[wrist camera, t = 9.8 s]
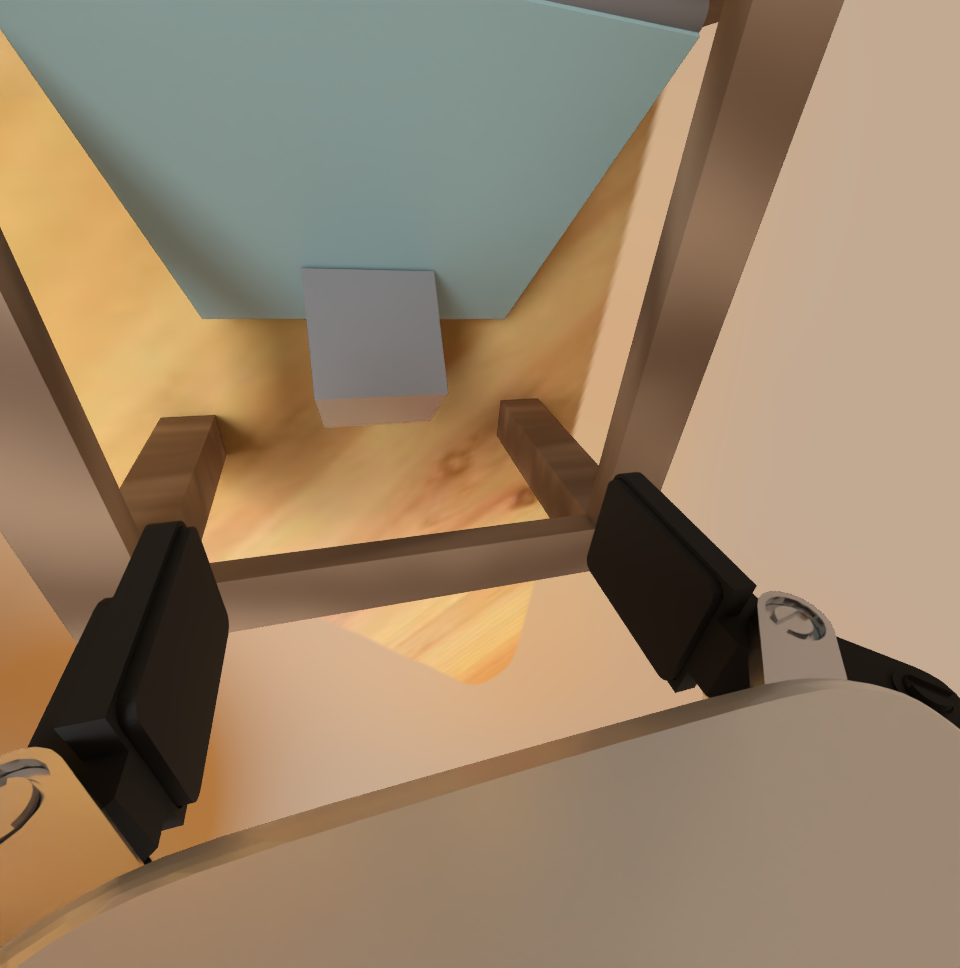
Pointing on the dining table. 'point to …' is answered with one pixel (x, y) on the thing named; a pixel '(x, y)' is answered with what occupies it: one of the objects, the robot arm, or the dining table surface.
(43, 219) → the dining table surface
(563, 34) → the trapdoor
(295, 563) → the trapdoor frame
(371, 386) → the gray cube
